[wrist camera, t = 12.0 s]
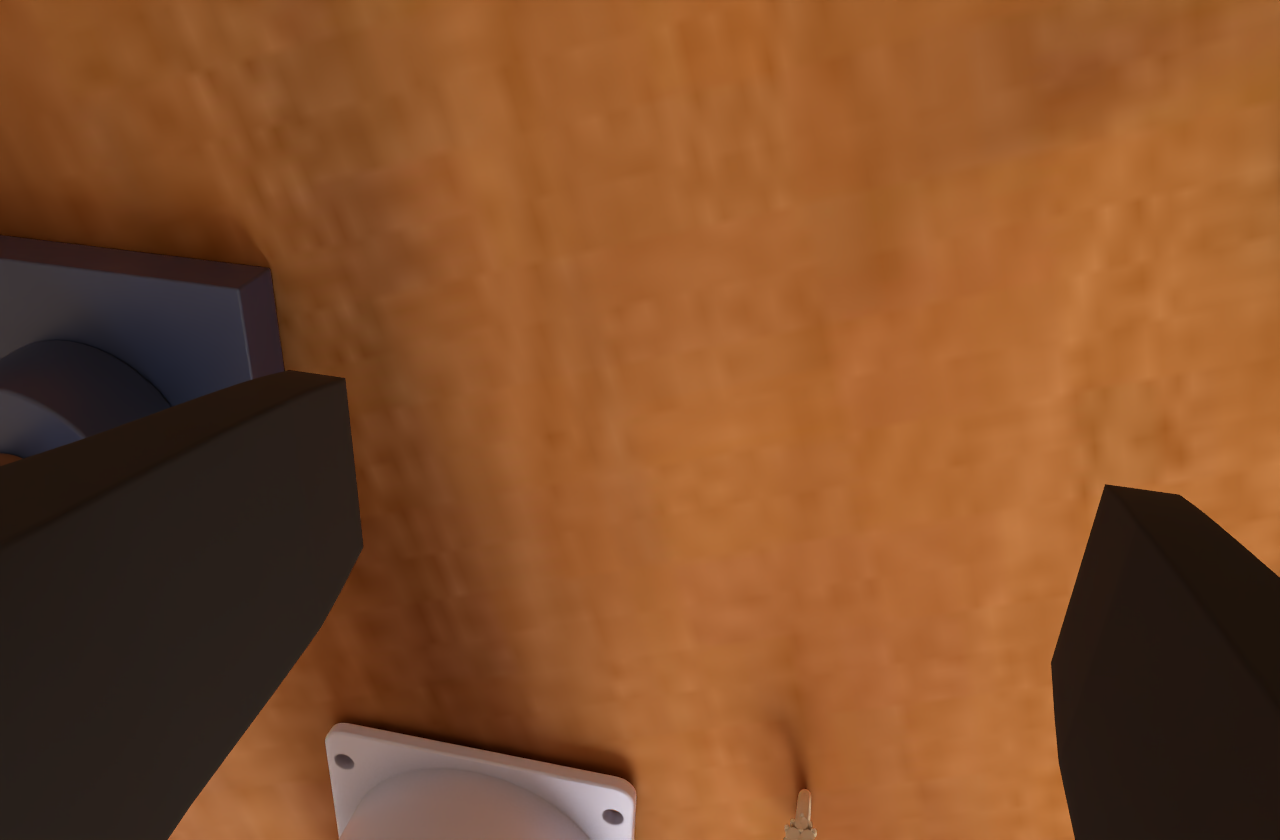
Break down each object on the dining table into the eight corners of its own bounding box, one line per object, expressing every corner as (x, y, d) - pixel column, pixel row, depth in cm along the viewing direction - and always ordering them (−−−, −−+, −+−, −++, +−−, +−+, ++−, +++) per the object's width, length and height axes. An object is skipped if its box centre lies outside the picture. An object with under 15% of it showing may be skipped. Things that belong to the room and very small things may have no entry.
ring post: (315, 587, 25) (147, 798, 19) (19, 534, 26) (-218, 717, 20) (271, 266, 21) (44, 415, 15) (-75, 224, 22) (-399, 347, 16)
